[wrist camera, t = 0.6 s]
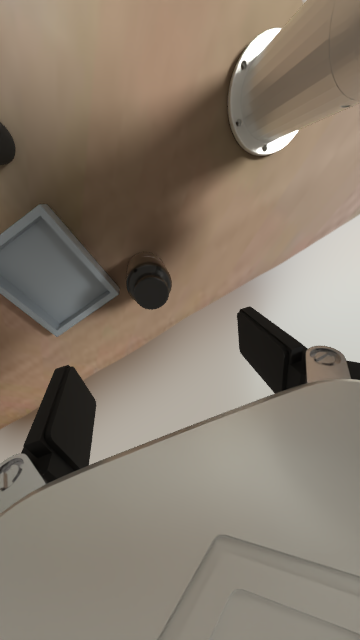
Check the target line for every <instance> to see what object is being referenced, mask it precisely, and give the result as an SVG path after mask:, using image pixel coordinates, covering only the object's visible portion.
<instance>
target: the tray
mask: <svg viewBox="0 0 360 640" xmlns="http://www.w3.org/2000/svg"><path fill="white" fill-rule="evenodd" d="M0 293H1V294H2V295H3V296H4V297H6V298H7V299H8V300H10V301H11V302H12V303H13V304H15V305H16V306H17V307H19V308H20V309H21V310H22V311H24V312H25V313H26V314H28V315H29V316H30V317H32V318H33V319H34V320H35V321H37V322H38V323H39V324H41V325H42V326H43V327H44V328H46V329H47V330H48V331H50V332H51V333H52V334H53V335H55V336H56V337H58V336H59V335H61V334H62V333H64V332H65V331H66V330H68V329H69V328H71V327H72V326H74V325H75V324H77V323H78V322H79V321H81V320H82V319H84V318H85V317H87V316H88V315H90V314H91V313H93V312H94V311H95V310H97V309H98V308H100V307H101V306H103V305H104V304H106V303H107V302H108V301H110V300H111V299H113V298H114V297H116V296H117V295H119V287H118V286H117V285H116V284H115V282H114V281H113V280H112V279H111V278H110V277H109V275H108V274H107V273H106V272H105V271H104V270H103V268H102V267H101V266H100V265H99V264H98V263H97V262H96V260H95V259H94V258H93V257H92V256H91V255H90V253H89V252H88V251H87V250H86V249H85V248H84V246H83V245H82V244H81V243H80V242H79V241H78V240H77V238H76V237H75V236H74V235H73V234H72V233H71V231H70V230H69V229H68V228H67V227H66V226H65V224H64V223H63V222H62V221H61V220H60V219H59V218H58V216H57V215H56V214H55V213H54V212H53V211H52V209H51V208H50V207H49V206H48V205H47V204H39V205H38V206H36V207H35V208H34V209H33V210H31V211H30V212H29V213H27V214H26V215H25V216H24V217H22V218H21V219H20V220H18V221H17V222H16V223H15V224H13V225H12V226H11V227H9V228H8V229H7V230H6V231H4V232H3V233H2V234H0Z"/></svg>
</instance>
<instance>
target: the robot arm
mask: <svg viewBox="0 0 360 640" xmlns="http://www.w3.org/2000/svg"><path fill="white" fill-rule="evenodd" d="M241 67H242V69H241ZM359 103H360V0H307V1H306V2H305V3H304V4H303V5H302V6H301V7H300V8H299V10H298V11H297V12H296V13H295V14H294V15H293V16H292V18H291V19H290V20H289V21H288V22H287V23H286V24H285V25H284V27H283V28H272V29H268V30H266V31H264V32H262V33H261V34H259V35H258V36H257V37H256V38H255V39H253V40H252V41H251V42H250V44H249V45H248V46H247V48H246V49H245V50H244V51H243V53H242V55H241V56H240V58H239V60H238V62H237V64H236V66H235V69H234V71H233V74H232V78H231V82H230V86H229V93H228V115H229V122H230V125H231V129H232V132H233V134H234V136H235V139H236V140H237V142H238V143H239V144H240V146H241V147H242V148H243V149H244V150H245V151H247V152H249V153H251V154H252V155H257V156H266V155H270V154H273V153H275V152H277V151H279V150H281V149H282V148H284V147H285V146H286V145H287V144H288V143H289V142H290V141H291V140H292V139H293V137H294V136H295V135H296V133H297V132H298V130H299V129H302V128H304V127H306V126H309V125H311V124H313V123H316V122H318V121H320V120H323V119H325V118H327V117H329V116H332V115H334V114H336V113H339V112H341V111H343V110H346V109H348V108H350V107H353V106H355V105H357V104H359ZM236 123H237V126H236ZM262 149H263V150H262ZM237 320H238V333H239V334H238V335H239V349H240V352H241V354H242V355H243V356H244V358H245V359H246V360H247V361H248V362H249V364H250V365H251V366H252V367H253V368H254V369H255V371H256V372H257V373H258V374H259V375H260V376H261V377H262V379H263V380H264V381H265V382H266V383H267V385H268V386H269V387H270V388H271V389H272V390H273V392H274V393H275V394H273V395H270V396H267V397H265V398H262V399H259V400H257V401H254V402H251V403H249V404H246V405H243V406H241V407H238V408H235V409H233V410H230V411H228V412H225V413H222V414H220V415H217V416H214V417H212V418H209V419H207V420H204V421H201V422H199V423H196V424H193V425H191V426H188V427H186V428H183V429H181V430H178V431H175V432H173V433H170V434H168V435H165V436H162V437H160V438H157V439H155V440H152V441H149V442H147V443H145V444H142V445H139V446H137V447H134V448H132V449H129V450H126V451H124V452H121V453H119V454H116V455H114V456H111V457H109V458H106V459H103V460H101V461H99V462H96V463H94V464H91V465H89V459H90V450H91V443H92V435H93V426H94V418H95V411H96V401H95V399H94V397H93V396H92V394H91V393H90V391H89V389H88V388H87V387H86V385H85V383H84V382H83V380H82V379H81V377H80V376H79V374H78V373H77V371H76V370H75V368H74V367H70V366H69V365H66V366H63V367H60V368H57V369H55V371H54V373H53V376H52V378H51V381H50V383H49V385H48V388H47V390H46V393H45V395H44V397H43V400H42V402H41V405H40V407H39V410H38V412H37V415H36V417H35V419H34V422H33V424H32V426H31V429H30V431H29V434H28V436H27V439H26V441H25V443H24V448H23V450H22V453H21V454H16V455H13V456H12V457H9V458H8V459H6V460H5V461H3V462H2V463H1V464H0V640H360V363H357V362H351V361H346V359H345V357H344V355H343V354H342V353H341V352H339V351H338V350H336V349H334V348H331V347H327V346H314V347H311V348H309V349H307V348H306V347H305V346H303V345H302V344H301V343H300V342H298V341H297V340H296V339H294V338H293V337H291V336H290V335H289V334H287V333H286V332H285V331H283V330H282V329H280V328H279V327H278V326H276V325H275V324H274V323H272V322H271V321H269V320H268V319H267V318H265V317H264V316H263V315H261V314H260V313H259V312H257V311H256V310H254V309H253V308H252V307H246V308H243V309H240V311H239V313H237Z"/></svg>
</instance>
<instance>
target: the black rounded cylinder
mask: <svg viewBox="0 0 360 640" xmlns="http://www.w3.org/2000/svg"><path fill="white" fill-rule="evenodd" d="M14 155H15V144H14V141H13V138H12V136H11V134H10V133H9V131H8V130H7V129H6V127H5V126H4V125H3V124H2V123H1V122H0V165H4V164H7V163H9V162H11V161H12V159H13V158H14Z"/></svg>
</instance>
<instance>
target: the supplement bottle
mask: <svg viewBox="0 0 360 640" xmlns="http://www.w3.org/2000/svg"><path fill="white" fill-rule="evenodd" d="M126 284H127V290H128V292H129V294H130V296H131V297H132V298H133V299H134V300H135V301H136V302H137V303H138V304H139V305H140V306H142V307H143V308H145V309H157V308H159V307H161V306H162V305H164V304H165V303H166V301H167V300H168V297H169V293H170V291H171V287H172V281H171V277H170V274H169V272H168V271H167V269H166V267H165V265H164V264H163V262H162V260H161V259H160V258H159V257H158V256H157V255H155V254H153V253H150V252H141V253H138V254H136V255H134V256H133V257H132V258H131V260H130V261H129V263H128V267H127V281H126Z"/></svg>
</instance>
